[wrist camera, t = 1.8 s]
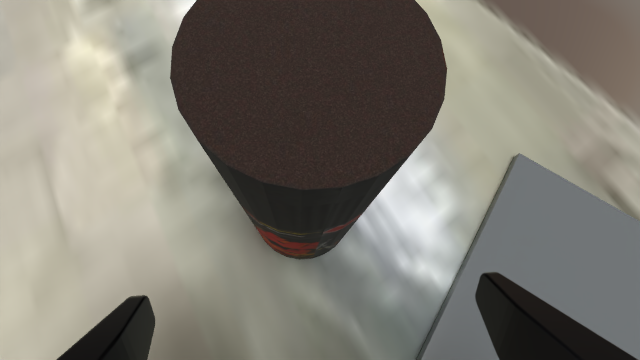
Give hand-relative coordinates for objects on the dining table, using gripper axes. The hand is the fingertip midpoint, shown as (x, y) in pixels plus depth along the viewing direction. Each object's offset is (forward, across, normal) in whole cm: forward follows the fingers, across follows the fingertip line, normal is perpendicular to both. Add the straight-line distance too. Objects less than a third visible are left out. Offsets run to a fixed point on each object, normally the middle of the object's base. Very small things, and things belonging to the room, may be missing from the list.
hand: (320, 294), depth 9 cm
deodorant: (+12, 0, +5) cm, 13 cm away
